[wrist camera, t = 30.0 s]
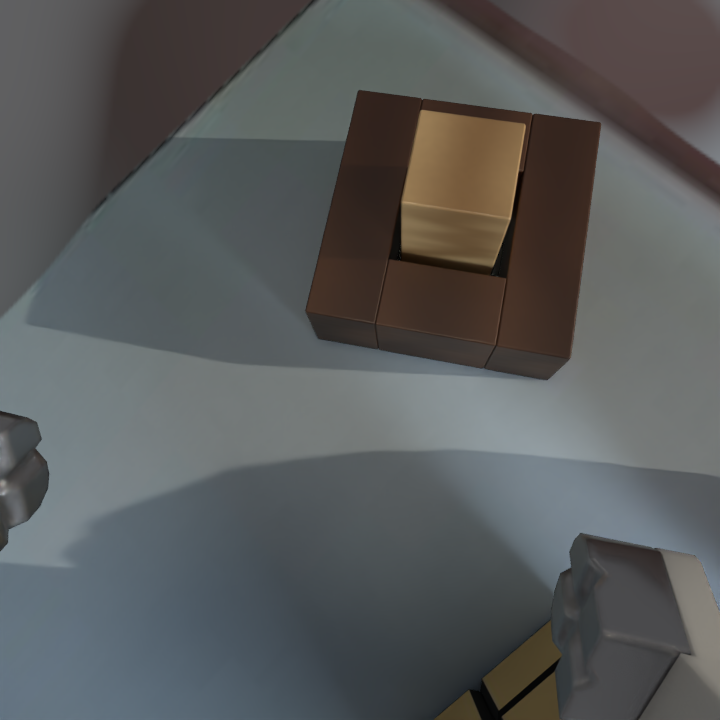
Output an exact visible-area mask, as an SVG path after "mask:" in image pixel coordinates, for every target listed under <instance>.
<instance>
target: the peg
mask: <svg viewBox="0 0 720 720" xmlns="http://www.w3.org/2000/svg"><path fill="white" fill-rule="evenodd" d="M525 129H526V125H525V124H524V123H516V122H509V121H501V120H494V119H487V118H479V117H472V116H464V115H457V114H450V113H442V112H435V111H427V110H421V111H420V112H419V117H418V122H417V126H416V131H415V136H414V141H413V146H412V150H411V155H410V160H409V165H408V169H407V174H406V179H405V184H404V189H403V193H402V198H401V261H405V262H411V263H417V264H423V265H429V266H435V267H441V268H447V269H453V270H459V271H465V272H472V273H478V274H484V275H491V272H492V269H493V266H494V264H495V261H496V258H497V255H498V253H499V250H500V247H501V245H502V242H503V239H504V236H505V234H506V231H507V228H508V225H509V223H510V220H511V215H512V209H513V203H514V197H515V191H516V184H517V178H518V172H519V166H520V160H521V153H522V147H523V141H524V135H525Z"/></svg>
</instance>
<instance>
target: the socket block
mask: <svg viewBox="0 0 720 720" xmlns="http://www.w3.org/2000/svg"><path fill="white" fill-rule="evenodd" d="M421 110H427V111H435V112H442V113H450V114H457V115H464V116H472V117H479V118H487V119H494V120H501V121H509V122H516V123H524V124H525V125H526V129H525V135H524V141H523V147H522V153H521V160H520V166H519V172H518V178H517V184H516V191H515V197H514V203H513V209H512V215H511V220H510V223H509V225H508V228H507V231H506V234H505V240H504V246H503V252H502V258H501V264H500V271H499V277H496V276H490V275H484V274H478V273H472V272H465V271H459V270H453V269H447V268H441V267H435V266H429V265H423V264H417V263H411V262H405V261H399V260H397V257H398V252H399V247H400V242H401V198H402V193H403V189H404V184H405V179H406V174H407V169H408V165H409V160H410V155H411V150H412V146H413V141H414V136H415V131H416V126H417V122H418V117H419V112H420V111H421ZM600 129H601V123H600V122H593V121H586V120H578V119H571V118H563V117H556V116H548V115H541V114H533V116H532V113H526V112H518V111H511V110H503V109H496V108H488V107H481V106H473V105H466V104H458V103H451V102H444V101H436V100H429V99H423V100H422V99H421V98H415V97H407V96H400V95H392V94H385V93H377V92H370V91H362V90H359V91H358V93H357V98H356V102H355V106H354V110H353V114H352V118H351V123H350V127H349V131H348V135H347V139H346V143H345V148H344V152H343V156H342V160H341V164H340V168H339V173H338V177H337V181H336V185H335V189H334V193H333V198H332V202H331V206H330V210H329V214H328V219H327V223H326V227H325V231H324V235H323V239H322V244H321V248H320V252H319V256H318V260H317V264H316V269H315V273H314V277H313V281H312V285H311V289H310V294H309V298H308V302H307V306H306V310H305V311H306V314H307V316H308V318H309V320H310V322H311V325H312V327H313V329H314V331H315V333H316V335H317V337H318V338H319V339H324V340H329V341H335V342H340V343H346V344H351V345H357V346H362V347H367V348H373V349H378V348H379V350H384V351H389V352H395V353H400V354H406V355H411V356H417V357H422V358H428V359H433V360H439V361H444V362H450V363H455V364H460V365H466V366H471V367H477V368H483V367H484V368H485V369H489V370H494V371H500V372H505V373H510V374H516V375H521V376H527V377H532V378H538V379H543V380H548V379H549V378H550V377H551V376H553V375H554V374H555V373H556V372H557V371H558V370H559V369H560V368H561V367H562V366H563V365H564V364H565V363H566V362H567V361H568V360H570V358H571V353H572V345H573V337H574V330H575V322H576V314H577V307H578V299H579V291H580V284H581V276H582V268H583V260H584V253H585V245H586V237H587V230H588V222H589V214H590V206H591V199H592V191H593V183H594V176H595V168H596V160H597V153H598V145H599V137H600Z"/></svg>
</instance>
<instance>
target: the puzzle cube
mask: <svg viewBox="0 0 720 720" xmlns="http://www.w3.org/2000/svg"><path fill="white" fill-rule="evenodd" d="M561 656H562V654H561V652H560V651H559V650H558V648H557V647H556V645H555V644H554V643H553V641H552V633H551V620H550V621H549V622H548V623H547V624H545V625H544V626H543V627H542V628H541V629H540V630H538V631H537V632H536V633H535V634H534V635H532V636H531V637H530V638H529V639H528V640H527V641H525V642H524V643H523V644H522V645H521V646H520V647H518V648H517V649H516V650H515V651H514V652H513V653H511V654H510V655H509V656H508V657H507V658H506V659H504V660H503V661H502V662H501V663H500V664H499V665H497V666H496V667H495V668H494V669H493V670H491V671H490V672H489V673H488V674H487V675H486V676H484V677H483V678H482V681H481V692H482V693H481V692H480V691H476V690H470V689H469V690H468V691H467V692H465V693H464V694H463V695H462V696H461V697H460V698H458V699H457V700H456V701H455V702H454V703H453V704H451V705H450V706H449V707H448V708H447V709H446V710H444V711H443V712H442V713H441V714H440V715H438V716H437V717H436V718H435V719H434V720H560V719H559V709H558V699H557V689H556V678H555V669H556V667H557V665H558V663H559V660H560V658H561Z"/></svg>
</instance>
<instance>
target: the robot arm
mask: <svg viewBox="0 0 720 720" xmlns="http://www.w3.org/2000/svg"><path fill="white" fill-rule="evenodd" d="M41 440H42V438H41V434H40V431H39V427H38V424H37V422H36V421H34V420H32V419H29V418H27V417H23V416H19V415H15V414H10V413H6V412H2V411H0V551H1V550H2V549H3V548H4V547H5V546H6V545H7V544H8V533H9V529H11V528H13V527H15V526H17V525H20V524H22V523H24V522H26V521H28V520H29V519H30V518H31V517H32V515H33V514H34V513H35V512H36V511H37V509H38V508H39V507H40V506H41V503H42V501H43V499H44V497H45V494H46V492H47V490H48V484H49V470H48V465H47V461H46V460H45V459H44V458H43V457H42V456H41V454H40V453H39V452H38V451H37V450H36V449H35V448H36V447H37V445H38V444H39V443H40V441H41ZM569 553H570V561H571V568H569V569H568V570H566V571H564V572H562V573H560V576H559V579H558V581H557V584H556V587H555V590H554V595H553V601H552V607H551V633H552V641H553V643H554V644H555V645H556V647H557V648H558V650H559V651H560V652H561V654H562V656H561V658H560V660H559V663H558V665H557V667H556V669H555V678H556V689H557V699H558V709H559V719H560V720H720V612H719V609H718V606H717V604H716V601H715V598H714V596H713V593H712V591H711V588H710V585H709V583H708V580H707V577H706V575H705V572H704V569H703V567H702V564H701V562H700V561H699V560H698V559H697V558H696V556H695V555H690V554H685V553H680V552H675V551H669V550H664V549H659V548H652V547H648V546H643V545H638V544H633V543H628V542H623V541H618V540H613V539H608V538H603V537H598V536H593V535H588V534H583V533H580V534H579V535H578V536H577V537H576V538H575V540H574V542H573V544H572V547H571V549H570V551H569Z"/></svg>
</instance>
